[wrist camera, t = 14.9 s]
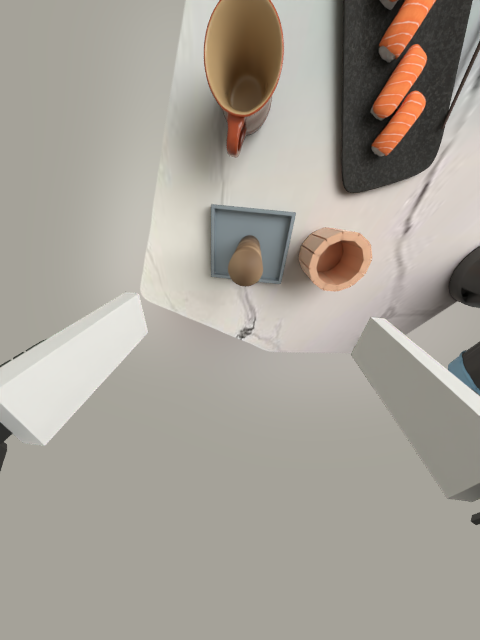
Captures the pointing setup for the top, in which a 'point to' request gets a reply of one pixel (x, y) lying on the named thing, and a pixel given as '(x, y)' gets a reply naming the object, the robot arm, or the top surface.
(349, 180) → the sushi plate
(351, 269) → the cup
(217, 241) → the tray
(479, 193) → the top surface
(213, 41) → the mug
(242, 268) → the peg
